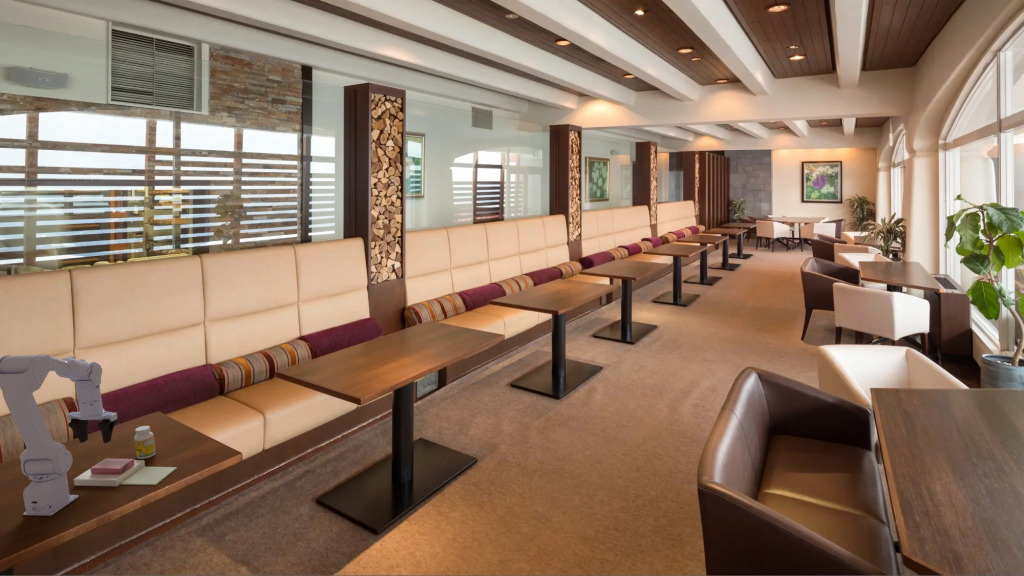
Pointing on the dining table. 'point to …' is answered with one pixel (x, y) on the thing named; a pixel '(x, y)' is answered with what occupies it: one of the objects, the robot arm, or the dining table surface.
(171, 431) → the dining table surface
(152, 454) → the supplement bottle
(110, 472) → the tile
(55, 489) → the robot arm
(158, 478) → the mat
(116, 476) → the white flat block
